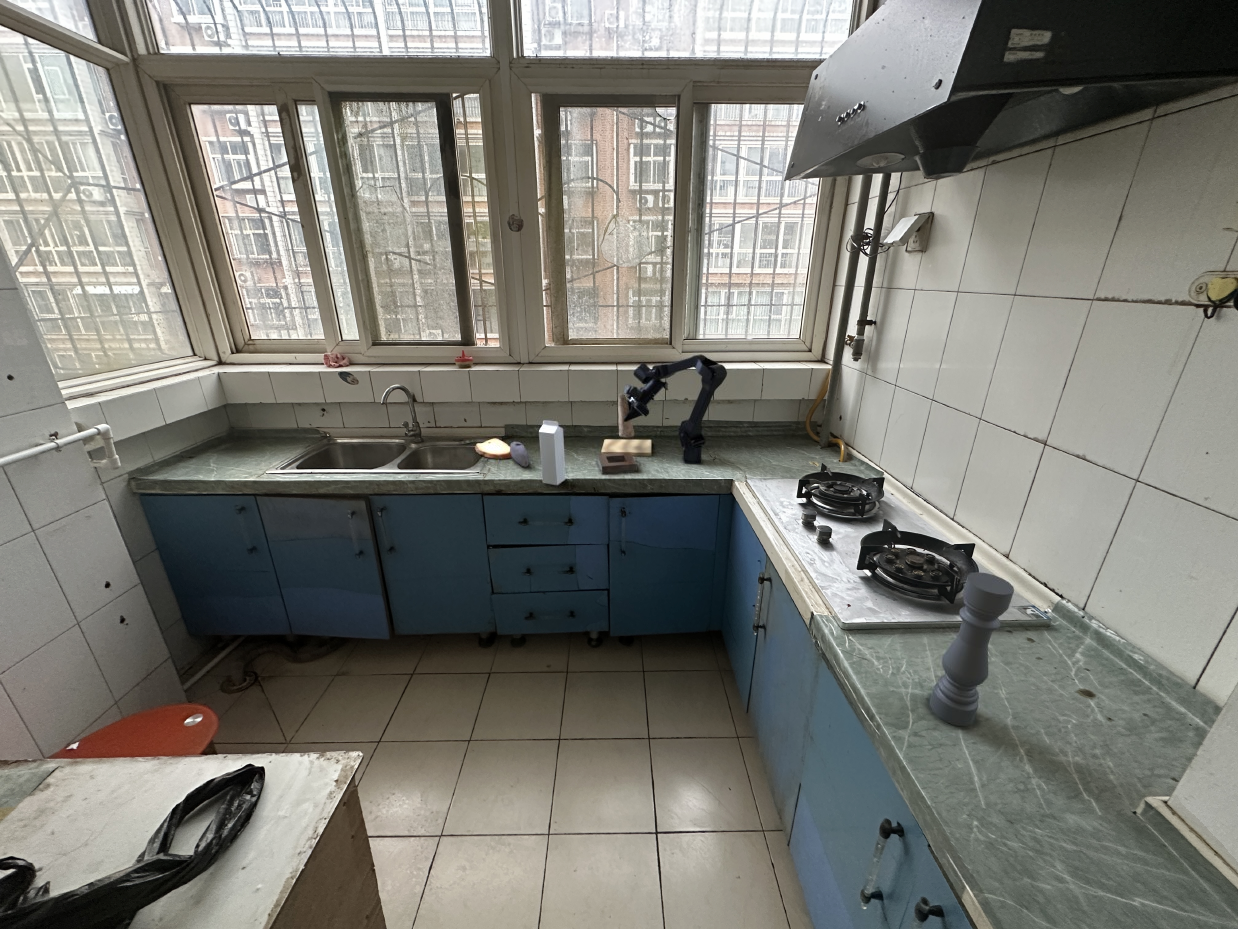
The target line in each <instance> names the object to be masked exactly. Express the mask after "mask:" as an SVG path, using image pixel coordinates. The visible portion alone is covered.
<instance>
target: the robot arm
mask: <svg viewBox="0 0 1238 929" xmlns="http://www.w3.org/2000/svg"><path fill="white" fill-rule="evenodd" d="M692 368H695V370H696V373H697V374H698V375H699V376H700V377H701V379H700V381H701V388H700V391H699V393H698V395H697V398H696V400H695V403H694V405H693V407H692V410H691V412H690V415H689V417H688V419H685V420H682V421H681V422H680V426H679V428H678V429H677V430H678V433H677V434H678V435H677V436H678V437H679V442H680V446H681V448H682V461H684V462H683V463H684V464H700V465H701V464H703V461H702V451H703V450H702V449H703V447H702V446H704V445H706V443H707V439H706V437H705V435H703V433H702V431H703V424H702V422H703V420H704V417H705V415H706V412H707V410H708V408H709V406H710V403H711V401H712V399H713V397H714V394H715V391H716V390H717V389H718V388H719V387H720V386H721V385H722V384H723V382H724V381H725V380H726V378H727V376H728V371H727V368H726V367H725V366H724V365H723V364H720V363H719V362H717V361H715V360H713V359H711V358H709V357H707V356H705V355H704V354H695V355H692V356H690V357H687V358H684V359H680V360H678V361H675V362H665V363H659V364H655V365H653V366H652V368H650V367H649V366H648V364H646V363H645V362H642V363H640V365H639V366H637V367H636V368H635V369H634V370H633V376H634V377H635V378H636V379H637V380H638V381H639V382H640V383H641V384H642V385H644V386H640V387H639V388H638V386H635V385H631V384H628V383H625V387H624V390H623V392H624V394H626V395H625V397H626V400H627V402H628V406H629V413H628V414H627V415H626V417H625V418H624V420H623V421H624V422H627V421H629V420H635V419H636V418H638V417H643V416H644V417H645V418H646V417H647V416H649V414H650V409H649V408H648V404H649V403H651V401H655V397H656V396H657V395H658V394H659V393H660V391H662V389H664V390H665V391H668V390H669V383H668V381H663V380H664V379H669V378H670V377H672V376H674V375H676V374H677V373H679V372H682V371H686V370H689V369H692Z"/></svg>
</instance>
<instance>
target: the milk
mask: <svg viewBox="0 0 1238 929" xmlns="http://www.w3.org/2000/svg"><path fill="white" fill-rule="evenodd" d="M538 438H539V453H540V464H541V479H542V484H547V485H552V486H559V485H560V484H562V482H564V481H566V463H565V460H566V458H565V441H564V440H565V439H564V428H563V427H561V426H559V422H558V421H556V420H555V421H554V420H546V419H543V420H542V425H541V427H540V428H539V430H538Z"/></svg>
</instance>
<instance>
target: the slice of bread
mask: <svg viewBox="0 0 1238 929" xmlns="http://www.w3.org/2000/svg"><path fill="white" fill-rule="evenodd" d="M474 450H475V452H476V453H477V454H478V455H480V456H483V457H485V458H489V459H494V460H496V459H497V460H502V459H503V460H505V459H512V458H513V457H512V456H511V453H510V445H508V444H507V443H506V442H504V441H502V440H500V439H499V438H496V437H495V438H494V437H493V438H491V439H489V440H486V441H484V442H480V443H479V442H477V443H476V445H475V447H474Z"/></svg>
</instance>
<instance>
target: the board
mask: <svg viewBox="0 0 1238 929" xmlns="http://www.w3.org/2000/svg"><path fill="white" fill-rule="evenodd" d="M602 444H603V445H602V447H601V451H600V454H612V453H626V452H630V453H631V455H632V456H633V457H651V456H652V439H617V438H616V439H611V438H609V439H604V441H603V443H602Z"/></svg>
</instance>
